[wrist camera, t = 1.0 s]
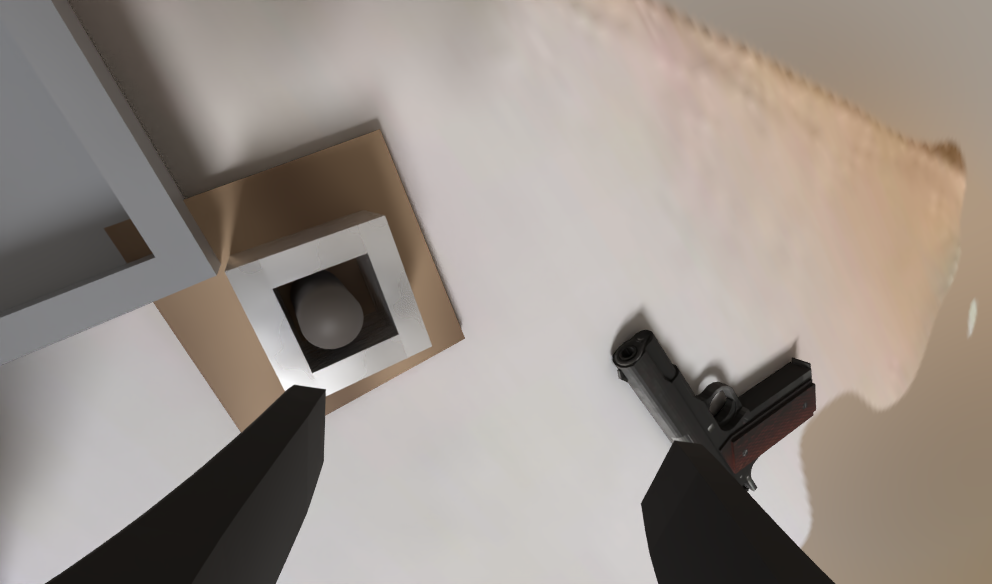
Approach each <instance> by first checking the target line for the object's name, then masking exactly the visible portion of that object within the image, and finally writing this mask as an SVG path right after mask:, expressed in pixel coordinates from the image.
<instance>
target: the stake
mask: <svg viewBox="0 0 992 584" xmlns="http://www.w3.org/2000/svg"><path fill="white" fill-rule="evenodd" d="M183 201H184V203H185V204H186V206H187V208H188V209H189V211H190V213H191V214H192V216H193V218H194V220H195V221H196V223H197V225H198V226H199V228H200V230H201V231H202V233H203V235H204V236H205V238H206V240H207V241H208V243H209V245H210V247H211V248H212V250H213V252H214V253H215V255H216V257H217V258H218V260H219V262H220V263H221V265H220V268H219V271H218V273H217V275H216V276H214V277H212V278H209V279H207V280H205V281H202V282H200V283H197V284H195V285H193V286H190V287H188V288H185V289H183V290H181V291H178V292H176V293H173V294H171V295H169V296H166V297H164V298H161V299H159V300H157V301H154V302H153V303H154V304H155V306H156V307H157V309H158V310H159V312H160V313H161V314H162V316H163V317H164V319H165V320H166V322H167V323H168V325H169V326H170V328H171V329H172V331H173V332H174V334H175V335H176V337H177V338H178V340H179V341H180V343H181V344H182V346H183V347H184V349H185V350H186V352H187V353H188V355H189V356H190V358H191V359H192V360H193V362H194V363H195V365H196V366H197V368H198V369H199V371H200V372H201V374H202V375H203V377H204V378H205V380H206V381H207V383H208V384H209V386H210V387H211V389H212V390H213V392H214V393H215V395H216V396H217V398H218V399H219V401H220V402H221V404H222V405H223V407H224V408H225V409H226V411H227V412H228V414H229V415H230V417H231V418H232V420H233V421H234V423H235V424H236V426H237V427H238V429H239V430H240V432H243V431H244V430H245V429H246V428H247V427H248V426H249V425H250V424H251V423H252V422H253V421H255V420H256V419H257V418H258V417H259V416H260V415H261V414H262V413H263V412H264V411H265V410H266V409H267V408H268V407H269V406H270V405H272V404H273V403H274V402H275V401H276V400H277V399H278V398H279V397H280V396H281V395H282V394H283V393H284V392H285V390H284V388H283V386H282V384H281V382H280V380H279V378H278V376H277V375H276V373H275V371H274V369H273V367H272V365H271V363H270V361H269V359H268V357H267V355H266V353H265V351H264V349H263V347H262V345H261V343H260V341H259V339H258V337H257V335H256V333H255V331H254V329H253V327H252V325H251V323H250V321H249V319H248V317H247V315H246V313H245V311H244V309H243V307H242V305H241V303H240V301H239V299H238V297H237V295H236V293H235V291H234V290H233V288H232V286H231V284H230V282H229V280H228V278H227V276H226V274H225V269H226V265H227V262H228V259H229V256H230V255H232V254H235V253H238V252H241V251H244V250H247V249H250V248H253V247H256V246H259V245H262V244H265V243H268V242H271V241H274V240H277V239H279V238H282V237H285V236H288V235H291V234H294V233H297V232H300V231H303V230H306V229H309V228H312V227H315V226H318V225H321V224H323V223H326V222H329V221H332V220H335V219H338V218H341V217H344V216H347V215H350V214H353V213H356V212H359V211H362V210H366V211H370V212H374V213H377V214H381V215H385V217H386V220H387V222H388V225H389V228H390V231H391V234H392V236H393V239H394V242H395V245H396V247H397V250H398V253H399V256H400V258H401V261H402V264H403V267H404V270H405V272H406V275H407V278H408V281H409V283H410V286H411V289H412V292H413V294H414V297H415V300H416V303H417V306H418V308H419V311H420V314H421V317H422V319H423V322H424V325H425V328H426V330H427V333H428V336H429V339H430V342H431V344H432V347H430V348H428V349H425V350H423V351H421V352H419V353H417V354H415V355H413V356H411V357H408V358H406V359H404V360H402V361H400V362H398V363H396V364H394V365H392V366H389V367H387V368H385V369H383V370H381V371H379V372H377V373H375V374H372V375H370V376H368V377H366V378H364V379H362V380H360V381H358V382H356V383H353V384H351V385H349V386H347V387H345V388H343V389H341V390H339V391H336V392H334V393H332V394H330V395H328V396H326V404H325V415H327V414H329V413H331V412H333V411H334V410H336V409H338V408H340V407H342V406H344V405H345V404H347V403H349V402H351V401H353V400H354V399H356V398H358V397H360V396H362V395H363V394H365V393H367V392H369V391H371V390H373V389H374V388H376V387H378V386H380V385H382V384H383V383H385V382H387V381H389V380H391V379H392V378H394V377H396V376H398V375H400V374H402V373H403V372H405V371H407V370H409V369H411V368H412V367H414V366H416V365H418V364H420V363H421V362H423V361H425V360H427V359H429V358H431V357H432V356H434V355H436V354H438V353H440V352H441V351H443V350H445V349H447V348H449V347H450V346H452V345H454V344H456V343H458V342H459V341H461V340H463V339H465V337H464V335H463V332H462V330H461V327H460V325H459V322H458V320H457V318H456V315H455V313H454V310H453V308H452V305H451V303H450V300H449V298H448V295H447V293H446V291H445V288H444V286H443V283H442V281H441V278H440V276H439V273H438V271H437V268H436V266H435V264H434V261H433V259H432V256H431V254H430V251H429V249H428V246H427V244H426V241H425V239H424V236H423V234H422V232H421V229H420V227H419V224H418V222H417V219H416V217H415V214H414V212H413V209H412V207H411V205H410V202H409V200H408V197H407V195H406V192H405V190H404V187H403V185H402V182H401V180H400V178H399V175H398V173H397V170H396V168H395V165H394V163H393V160H392V158H391V155H390V153H389V151H388V148H387V146H386V143H385V141H384V138H383V136H382V133H381V131H380V129H379V130H376V131H374V132H371V133H368V134H365V135H363V136H360V137H357V138H354V139H351V140H349V141H346V142H343V143H340V144H337V145H335V146H332V147H329V148H326V149H323V150H321V151H318V152H315V153H312V154H310V155H307V156H304V157H301V158H298V159H296V160H293V161H290V162H287V163H284V164H282V165H279V166H276V167H273V168H270V169H268V170H265V171H262V172H259V173H257V174H254V175H251V176H248V177H245V178H243V179H240V180H237V181H234V182H231V183H229V184H226V185H223V186H220V187H217V188H215V189H212V190H209V191H206V192H204V193H201V194H198V195H195V196H192V197H190V198H187V199H184V200H183ZM124 222H125V223H124ZM129 223H130V224H129ZM121 224H122V225H121ZM128 224H129V225H128ZM113 226H114V227H113ZM122 226H123V227H122ZM130 226H131V227H130ZM115 228H116V229H115ZM117 228H118V229H119V230H118V229H117ZM126 229H127V230H126ZM104 230H105V231H107V232H106V233H107V234H108V236H109V237H111V238H112V236H113V238H114V239H113V238H112V239H111V238H110V239H111V240H112V242H113V243H114V245H115V246H116V248H117V249H118V251H119V252H120V254H121V255H122V257H123V258H124V260H125V261H126V263H130V262H132V261H135V260H138V259H140V258H143V257H145V256H148V254H149V255H151V254H153V253H152V252H151V250H150V248H149V247H148V245H147V244H146V242H145V241H144V239H143V237H141V234H140V233H139V231H138V230H137V228H136V227H135V226H134V224H133V222H132V220H131V219H128V220H125V221H123V223H122V222H120V223H117V224H116V226H115V224H114V225H111V226H109V228H108V227H106V228H104ZM120 230H121V231H122V232H121V231H120ZM131 230H132V231H131ZM124 231H125V232H124ZM129 231H130V232H129ZM134 231H135V232H134ZM110 233H111V234H110ZM122 233H123V235H122ZM139 235H140V236H139ZM127 236H128V237H127ZM138 236H139V237H138ZM115 237H116V238H115ZM117 237H118V238H117ZM125 237H126V239H125ZM129 237H130V238H129ZM119 238H120V239H119ZM123 238H124V239H123ZM127 239H128V240H127ZM130 239H131V240H130ZM114 241H115V242H114ZM126 241H127V242H126ZM128 241H129V242H128ZM134 241H136V242H134ZM137 242H138V243H137ZM120 245H121V246H120ZM122 245H123V246H122ZM129 245H130V246H129ZM146 245H147V246H146ZM143 246H144V247H143ZM137 247H138V248H137ZM147 247H148V248H147ZM120 248H121V249H120ZM129 248H130V249H129ZM131 248H132V249H131ZM140 248H141V249H140ZM127 249H128V250H127ZM138 249H139V250H138ZM143 250H144V251H143ZM136 251H137V252H136ZM149 251H150V252H149ZM145 253H146V254H145ZM125 255H127V257H126V256H125ZM130 255H131V256H130ZM135 255H136V256H135ZM134 256H135V257H134ZM129 260H130V261H129ZM277 289H278V291H279V293H280V295H281V297H282V300H283V302H284V304H285V306H286V308H287V310H288V312H289V314H290V317H291V319H292V321H293V323H294V325H295V327H296V329H297V332H298V334H299V336H300V338H301V340H302V342H304V341H307V340H308V341H309V342H310V343H311V344H313V345H315V346H317V347H320V348H324V349H336V348H340V347H343V346H345V345H347V344H349V343H350V342H351V341H353V340H354V339H355V338H356V336H357V335H358V334H359V332H360V330H361V328H362V325H363V316H366V315H368V314H370V313H373V312H375V311H376V308H375V306H374V303H373V301H372V298H371V296H370V293H369V291H368V288H367V286H366V283H365V281H364V278H363V276H362V273H361V271H360V268H359V266H358V263H357V261H356V258H353V259H350V260H348V261H345V262H342V263H340V264H337V265H334V266H332V267H329V268H326V269H324V270H321V271H318V272H316V273H313V274H311V275H308V276H305V277H303V278H300V279H297V280H295V281H292V282H289V283H287V284H284V285H281V286H279V287H277Z"/></svg>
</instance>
